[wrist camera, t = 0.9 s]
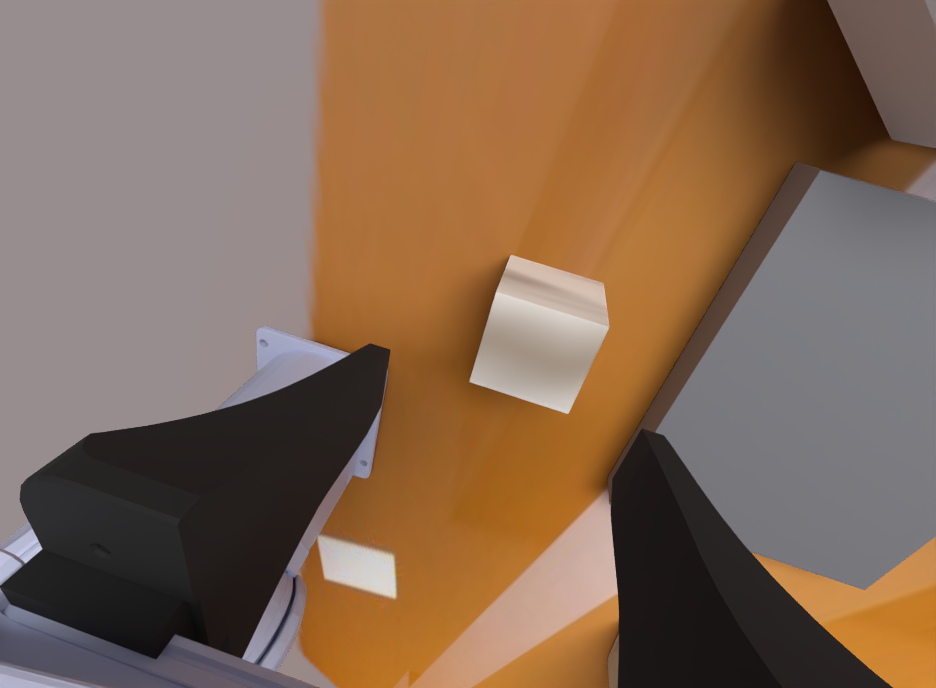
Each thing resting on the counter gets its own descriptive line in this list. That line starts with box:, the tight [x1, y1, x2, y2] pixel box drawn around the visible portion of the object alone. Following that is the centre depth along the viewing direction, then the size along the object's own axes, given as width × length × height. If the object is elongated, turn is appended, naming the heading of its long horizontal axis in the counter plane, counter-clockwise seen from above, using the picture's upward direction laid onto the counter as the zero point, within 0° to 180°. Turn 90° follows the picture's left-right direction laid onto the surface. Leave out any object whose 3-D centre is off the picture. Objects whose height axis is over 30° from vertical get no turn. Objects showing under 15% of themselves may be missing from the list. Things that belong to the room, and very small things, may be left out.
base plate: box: [608, 162, 936, 590], centre depth 20 cm, size 18×14×2 cm
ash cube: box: [469, 255, 609, 414], centre depth 20 cm, size 4×4×4 cm
